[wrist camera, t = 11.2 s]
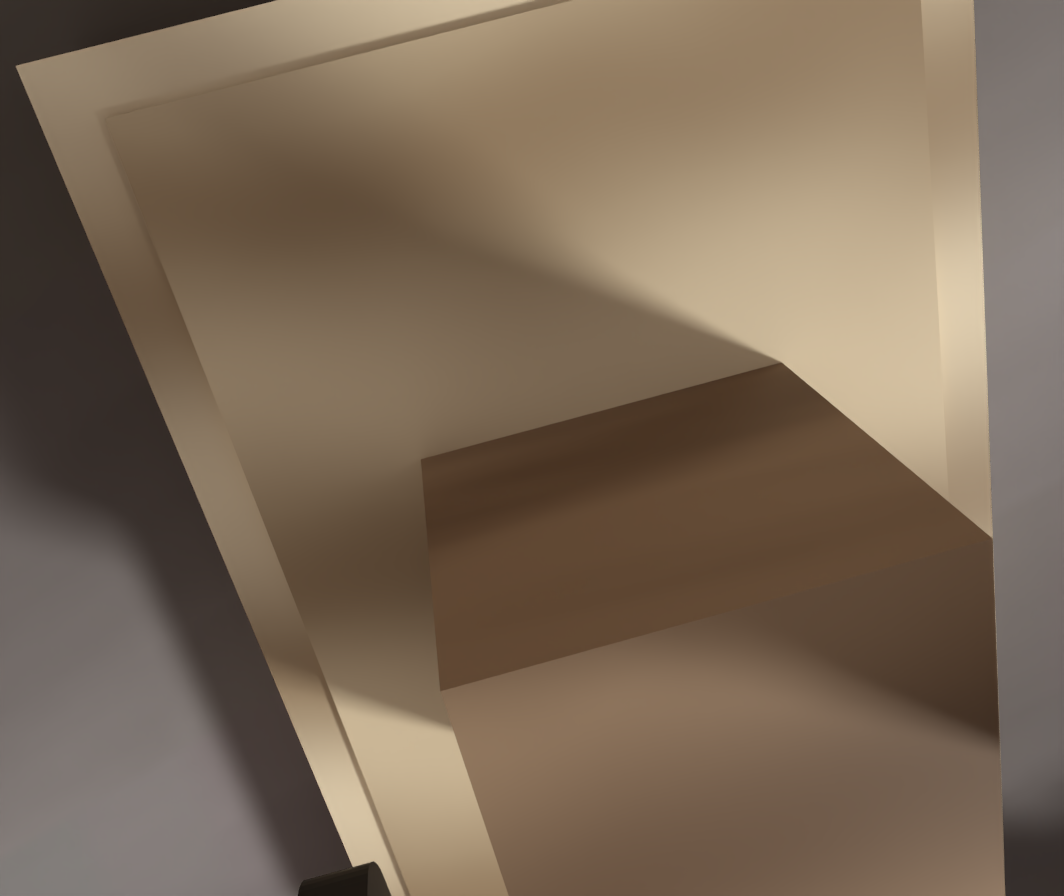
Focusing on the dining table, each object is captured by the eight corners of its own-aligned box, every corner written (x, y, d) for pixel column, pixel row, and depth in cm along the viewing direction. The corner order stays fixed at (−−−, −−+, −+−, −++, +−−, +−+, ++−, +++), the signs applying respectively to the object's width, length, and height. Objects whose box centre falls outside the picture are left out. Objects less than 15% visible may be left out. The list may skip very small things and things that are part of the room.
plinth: (75, 59, 14) (11, 66, 12) (875, -141, 14) (974, -175, 12) (417, 922, 21) (421, 1036, 19) (939, 773, 22) (1008, 866, 19)
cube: (420, 459, 14) (439, 691, 9) (781, 362, 14) (992, 538, 9) (508, 746, 17) (562, 1057, 12) (820, 658, 17) (1006, 928, 12)
